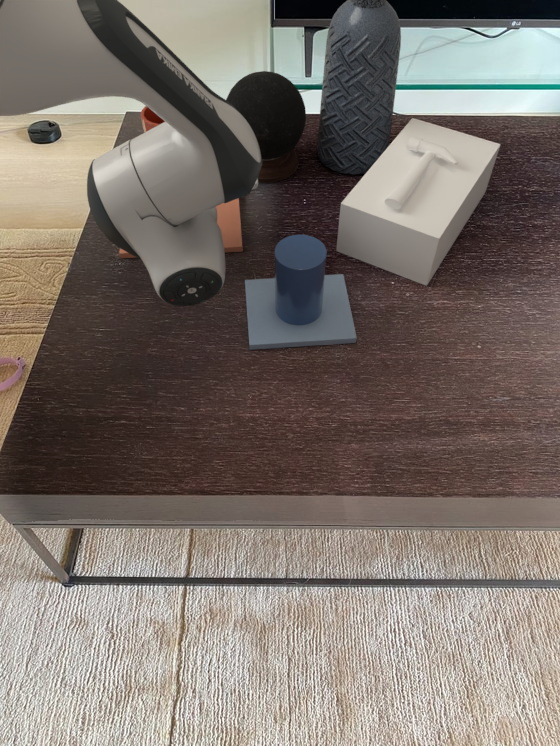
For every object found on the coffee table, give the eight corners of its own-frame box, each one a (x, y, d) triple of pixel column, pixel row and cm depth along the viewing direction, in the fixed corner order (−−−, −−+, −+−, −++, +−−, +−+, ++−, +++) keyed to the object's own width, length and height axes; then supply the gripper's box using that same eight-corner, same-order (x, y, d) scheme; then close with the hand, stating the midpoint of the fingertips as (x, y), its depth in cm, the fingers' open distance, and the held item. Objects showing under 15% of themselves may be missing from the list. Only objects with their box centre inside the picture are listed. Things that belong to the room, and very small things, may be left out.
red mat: (120, 258, 91) (119, 253, 90) (126, 199, 100) (125, 194, 99) (242, 251, 92) (242, 246, 91) (238, 193, 101) (238, 188, 100)
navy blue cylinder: (277, 326, 82) (276, 271, 74) (273, 292, 86) (272, 235, 78) (325, 323, 82) (330, 268, 74) (319, 289, 86) (323, 232, 78)
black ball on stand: (219, 147, 108) (211, 61, 96) (291, 135, 111) (292, 50, 99) (237, 192, 101) (231, 105, 89) (314, 178, 103) (318, 91, 91)
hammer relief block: (485, 191, 101) (505, 130, 92) (426, 285, 88) (442, 224, 79) (403, 165, 105) (414, 104, 97) (336, 251, 92) (342, 189, 84)
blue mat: (249, 349, 81) (249, 345, 80) (245, 284, 88) (244, 279, 87) (356, 343, 81) (356, 338, 81) (342, 279, 89) (343, 273, 88)
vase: (390, 176, 103) (421, -9, 81) (317, 176, 103) (327, -10, 81) (383, 135, 111) (410, -45, 88) (315, 135, 111) (324, -46, 88)
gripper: (260, 169, 76) (243, 109, 84) (90, 189, 73) (89, 126, 82) (262, 211, 81) (245, 151, 89) (102, 231, 78) (101, 167, 87)
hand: (169, 139), depth 85 cm, fingers closed on terracotta cup, 6 cm apart
